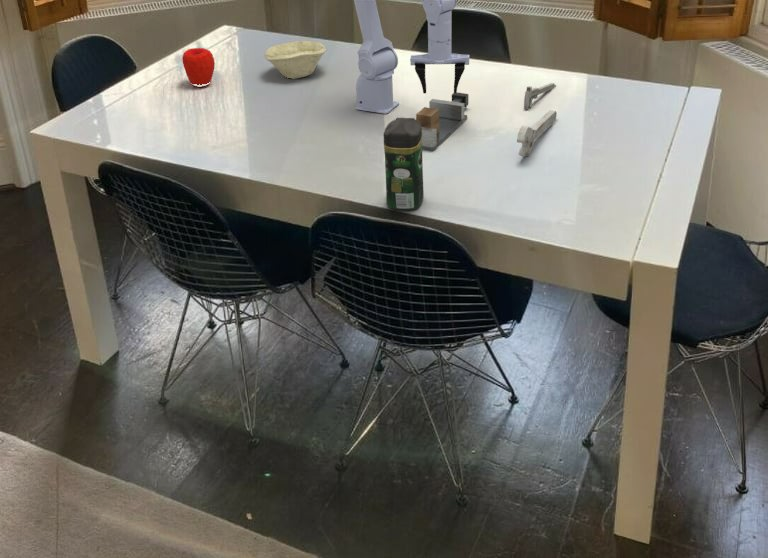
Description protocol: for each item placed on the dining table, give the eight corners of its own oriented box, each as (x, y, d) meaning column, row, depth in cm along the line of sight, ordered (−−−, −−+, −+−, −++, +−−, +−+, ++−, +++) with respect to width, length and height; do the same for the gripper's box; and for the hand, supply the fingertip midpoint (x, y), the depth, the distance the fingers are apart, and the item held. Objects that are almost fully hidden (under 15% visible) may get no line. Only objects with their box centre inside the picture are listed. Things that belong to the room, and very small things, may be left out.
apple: (221, 80, 274) (216, 45, 269) (210, 91, 267) (205, 54, 261) (193, 79, 276) (188, 43, 270) (181, 89, 269) (175, 53, 263)
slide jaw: (429, 116, 242) (429, 101, 240) (445, 101, 251) (445, 87, 249) (461, 120, 239) (461, 106, 237) (477, 105, 247) (477, 91, 245)
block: (416, 136, 231) (416, 114, 228) (424, 129, 235) (424, 107, 232) (431, 139, 230) (430, 116, 226) (439, 131, 233) (439, 109, 230)
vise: (400, 145, 229) (399, 126, 227) (435, 114, 246) (435, 96, 243) (433, 151, 226) (433, 132, 223) (467, 118, 242) (467, 100, 240)
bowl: (290, 98, 272) (251, 65, 270) (315, 73, 285) (278, 41, 284) (313, 66, 263) (273, 32, 261) (338, 42, 276) (300, 9, 274)
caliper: (527, 111, 246) (528, 89, 242) (523, 111, 246) (524, 88, 243) (556, 87, 260) (557, 65, 257) (552, 86, 261) (553, 64, 258)
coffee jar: (391, 191, 208) (388, 113, 199) (426, 193, 207) (424, 114, 197) (382, 211, 200) (379, 131, 191) (418, 213, 199) (417, 132, 189)
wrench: (555, 130, 241) (522, 164, 217) (548, 129, 242) (514, 163, 217) (558, 100, 238) (524, 131, 213) (551, 99, 238) (517, 130, 214)
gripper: (409, 44, 224) (410, 97, 231) (469, 43, 223) (468, 97, 230) (410, 35, 230) (411, 87, 237) (469, 34, 229) (468, 87, 236)
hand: (439, 91), depth 234 cm, fingers open, 7 cm apart
